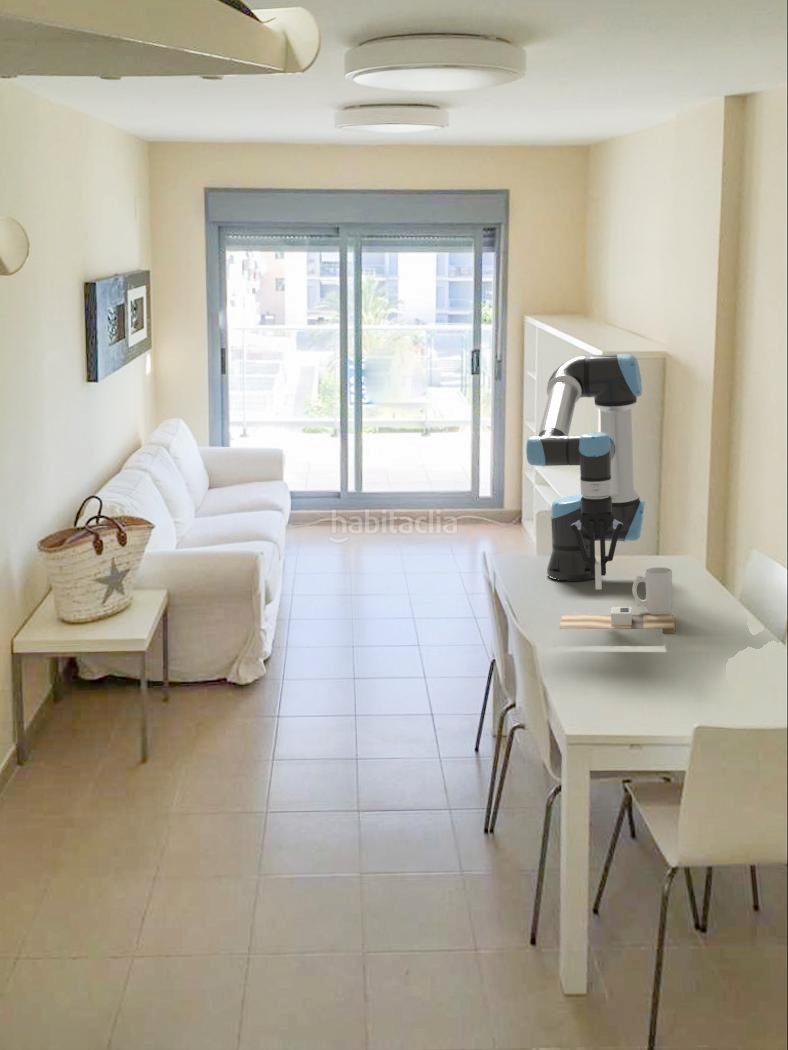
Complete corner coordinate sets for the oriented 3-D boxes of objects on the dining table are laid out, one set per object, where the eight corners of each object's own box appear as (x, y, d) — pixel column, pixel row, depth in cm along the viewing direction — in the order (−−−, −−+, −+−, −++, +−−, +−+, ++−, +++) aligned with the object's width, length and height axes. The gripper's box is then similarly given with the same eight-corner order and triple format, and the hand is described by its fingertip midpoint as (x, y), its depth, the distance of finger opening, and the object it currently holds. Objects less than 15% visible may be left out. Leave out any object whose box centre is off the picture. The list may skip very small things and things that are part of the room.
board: (562, 619, 323) (561, 615, 323) (673, 619, 318) (673, 614, 317) (559, 633, 311) (559, 628, 311) (674, 632, 306) (674, 628, 306)
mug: (671, 611, 324) (670, 566, 322) (674, 619, 318) (673, 573, 315) (631, 612, 326) (631, 568, 323) (633, 620, 319) (633, 574, 317)
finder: (611, 618, 317) (611, 606, 317) (631, 618, 316) (631, 606, 316) (611, 625, 311) (610, 613, 311) (631, 625, 310) (631, 612, 310)
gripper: (569, 499, 306) (571, 592, 311) (623, 498, 304) (625, 591, 309) (570, 493, 313) (572, 584, 319) (622, 492, 311) (624, 583, 316)
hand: (598, 587), depth 314 cm, fingers closed
